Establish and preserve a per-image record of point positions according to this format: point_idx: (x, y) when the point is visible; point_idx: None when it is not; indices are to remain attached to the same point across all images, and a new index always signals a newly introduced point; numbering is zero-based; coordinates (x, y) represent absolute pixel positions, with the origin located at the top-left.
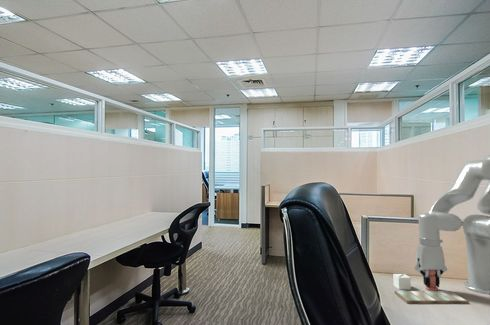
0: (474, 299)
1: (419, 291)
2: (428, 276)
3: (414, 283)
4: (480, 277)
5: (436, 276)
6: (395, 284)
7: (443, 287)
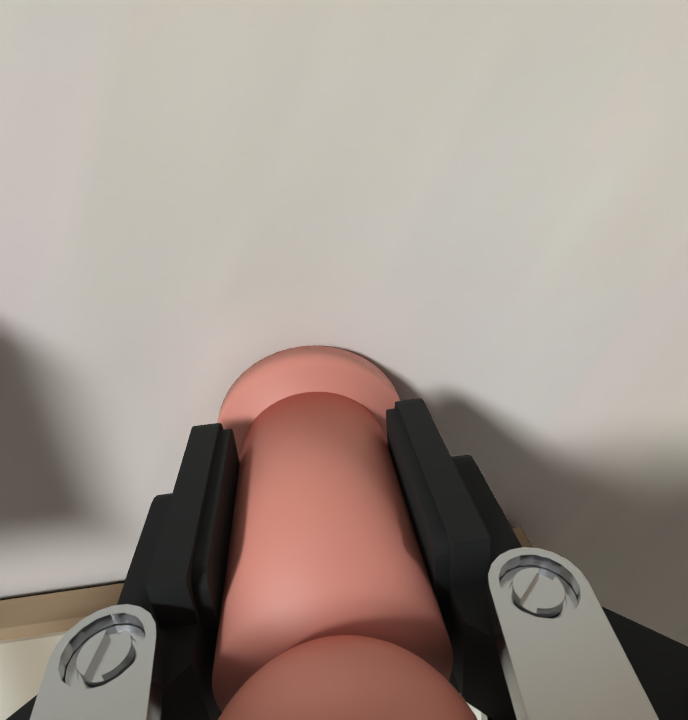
0: (659, 626)
1: (23, 652)
2: (232, 694)
3: (85, 49)
4: None
5: (454, 679)
6: None
7: (598, 270)
